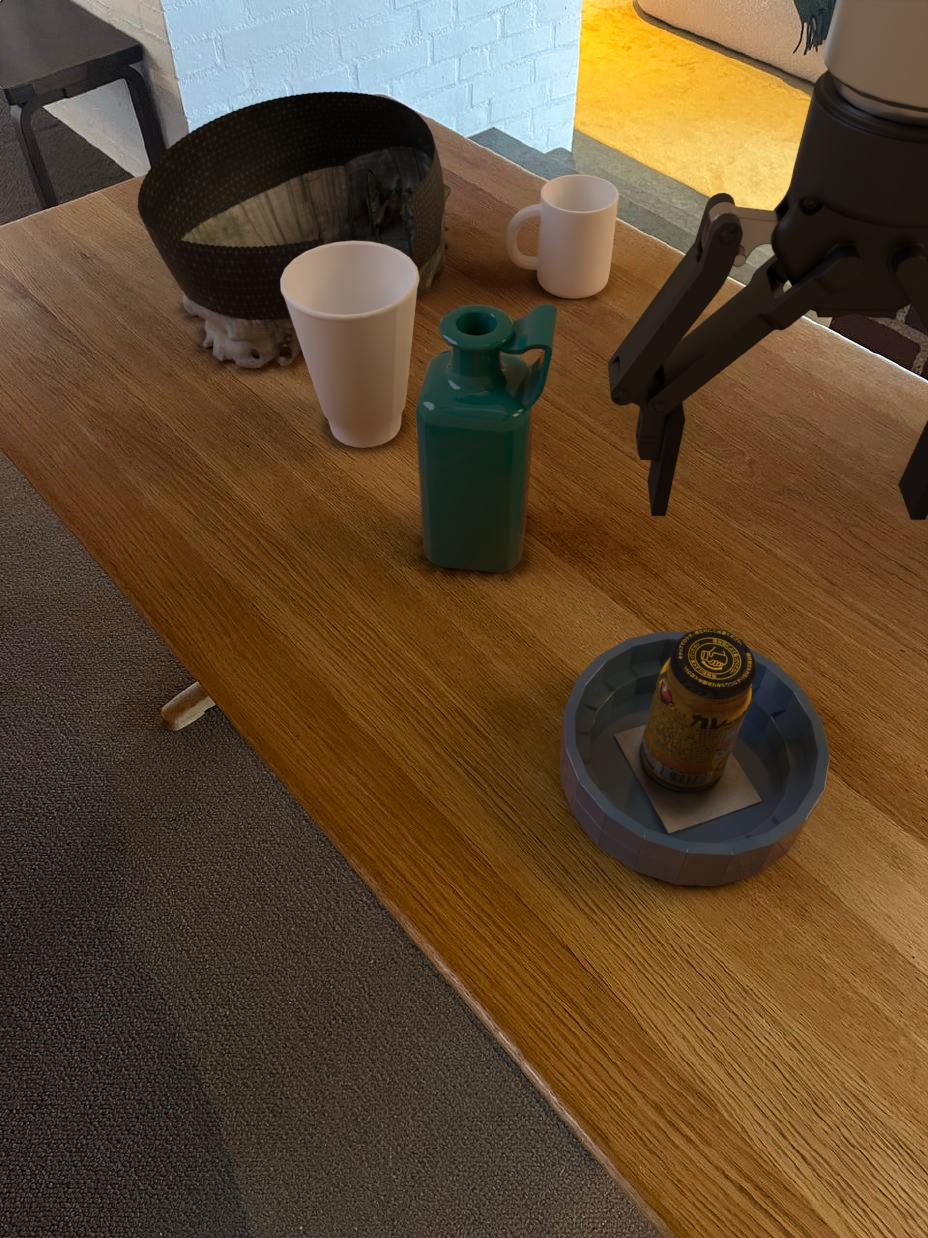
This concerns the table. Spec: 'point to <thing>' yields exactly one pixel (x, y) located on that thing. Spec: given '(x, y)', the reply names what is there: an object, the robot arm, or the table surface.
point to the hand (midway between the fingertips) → (783, 500)
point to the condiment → (695, 731)
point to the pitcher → (480, 435)
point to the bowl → (764, 748)
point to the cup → (355, 333)
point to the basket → (289, 207)
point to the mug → (570, 235)
